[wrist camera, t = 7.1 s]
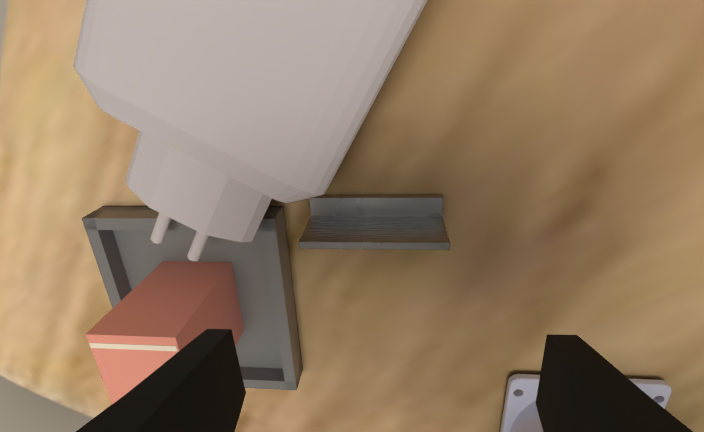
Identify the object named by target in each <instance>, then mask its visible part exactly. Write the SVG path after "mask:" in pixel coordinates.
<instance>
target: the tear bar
mask: <svg viewBox="0 0 704 432" xmlns="http://www.w3.org/2000/svg"><path fill="white" fill-rule="evenodd" d="M310 209H311V218H310V220H309V222H308V224H307V226H306V228H305V230H304V232H303V234H302V236H301V238H300V241H299V248H312V249H406V250H450V242H449V238H448V234H447V231H446V227H445V224H444V220H443V217H442V215H443V195H320V196H316V197H312V198H310Z"/></svg>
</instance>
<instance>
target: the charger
mask: <svg viewBox="0 0 704 432" xmlns="http://www.w3.org/2000/svg"><path fill="white" fill-rule="evenodd" d="M427 1H428V0H86V5H85V10H84V15H83V20H82V25H81V30H80V35H79V40H78V45H77V50H76V55H75V61H74V68H75V70H76V72H77V73H78V75H79V76H80V78H81V80H82V81H83V83H84V85H85V86H86V88H87V89H88V91H89V93H90V94H91V96H92V98H93V99H94V101H95V102H96V104H97V106H98V107H99V108H100V109H101V110H102V111H104V112H105V113H107V114H109V115H110V116H112V117H114V118H116V119H118V120H120V121H122V122H124V123H126V124H128V125H130V126H132V127H134V128H135V129H137V130H139V134H138V137H137V141H136V144H135V148H134V151H133V155H132V158H131V162H130V165H129V169H128V172H127V176H126V183H127V186H128V187H129V188H130V189H131V190H132V191H133V192H134V193H135V194H136V195H137V196H138V197H139V198H140V199H141V200H142V201H143V202H144V203H145V204H146V205H147V206H148V207H149V208H151V209H153V210H155V211H157V212H159V214H158V217H157V220H156V223H155V226H154V229H153V232H152V235H151V238H150V239H151V241H152V242H153V243H156V244H160V243H162V242H163V240H164V237H165V234H166V231H167V229H168V226H169V223H170V220H171V219H173V220H175V221H178V222H180V223H182V224H184V225H186V226H188V227H190V228H192V229H194V230H196V231H197V232H196V234H195V237H194V239H193V242H192V245H191V247H190V250H189V252H188V255H187V257H188V259H189V260H191V261H198V260H199V258H200V256H201V253H202V251H203V249H204V246H205V244H206V241H207V239H208V236H213V237H217V238H222V239H227V240H232V241H237V242H252V240H253V238H254V236H255V234H256V231H257V229H258V227H259V225H260V223H261V221H262V219H263V217H264V214H265V212H266V210H267V208H268V206H269V204H270V202H271V200H272V198H273V199H275V200H277V201H280V202H284V203H291V202H295V201H299V200H303V199H307V198H312V197H316V196H320V195H323V194H325V193H326V191H327V189H328V187H329V185H330V183H331V181H332V180H333V178H334V176H335V174H336V172H337V170H338V168H339V166H340V165H341V163H342V161H343V159H344V157H345V155H346V153H347V151H348V149H349V148H350V146H351V144H352V142H353V140H354V138H355V136H356V134H357V133H358V131H359V129H360V127H361V125H362V123H363V121H364V119H365V117H366V116H367V114H368V112H369V110H370V108H371V106H372V104H373V102H374V101H375V99H376V97H377V95H378V93H379V91H380V89H381V87H382V85H383V84H384V82H385V80H386V78H387V76H388V74H389V72H390V70H391V69H392V67H393V65H394V63H395V61H396V59H397V57H398V55H399V53H400V52H401V50H402V48H403V46H404V44H405V42H406V40H407V38H408V37H409V35H410V33H411V31H412V29H413V27H414V25H415V23H416V21H417V20H418V18H419V16H420V14H421V12H422V10H423V8H424V6H425V5H426V3H427Z"/></svg>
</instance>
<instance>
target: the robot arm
mask: <svg viewBox="0 0 704 432" xmlns="http://www.w3.org/2000/svg"><path fill="white" fill-rule="evenodd" d="M518 389H520V390H518ZM515 390H518V391H515ZM671 390H672V389H671V388H670V386H669V385H668V384H667V382H665V381H663V380H650V379H628V378H627V377H626V376H624V375H623V374H622V373H621V372H620V371H619V370H617V369H616V368H615V367H614V366H613V365H612V364H610V363H609V362H608V361H607V360H606V359H605V358H603V357H602V356H601V355H600V354H599V353H598V352H596V351H595V350H594V349H593V348H592V347H591V346H589V345H588V344H587V343H586V342H585V341H583V340H582V339H581V338H580V337H578V336H577V335H547V338H546V344H545V350H544V356H543V362H542V368H541V374H540V375H532V374H515V375H512V376H511V377H510V378H509V380H508V385H507V391H506V397H505V404H504V410H503V416H502V423H501V429H500V432H693V431H691V430H690V429H689V428H687V427H686V426H685V425H684V424H682V423H681V422H680V421H679V420H677V419H676V418H675V417H674V416H672V415H671V414H670V413H669V412H668V411H666V410H665V407H666V405H667V402H668V400H669V397H670V394H671ZM245 394H246V391H245V387H244V383H243V378H242V374H241V369H240V365H239V360H238V356H237V352H236V347H235V343H234V338H233V334H232V329H207V330H205V331H204V332H203V333H201V334H200V335H199V336H197V337H196V338H195V339H193V340H192V341H191V342H190V343H188V344H187V345H186V346H185V347H184V348H182V349H181V350H180V351H179V352H177V353H176V354H175V355H174V356H173V357H171V358H170V359H169V360H168V361H166V362H165V363H164V364H163V365H162V366H160V367H159V368H158V369H157V370H155V371H154V372H153V373H152V374H150V375H149V376H148V377H147V378H145V379H144V380H143V381H142V382H140V383H139V384H138V385H137V386H135V387H134V388H133V389H132V390H130V391H129V392H128V393H127V394H125V395H124V396H123V397H122V398H120V399H119V400H118V401H116V402H115V403H114V404H112V405H111V406H110V407H108V408H107V409H106V410H104V411H103V412H102V413H100V414H99V415H98V416H96V417H95V418H94V419H92V420H91V421H90V422H88V423H87V424H86V425H84V426H83V427H82V428H80V429H79V430H78V431H76V432H234V431H235V428H236V425H237V422H238V418H239V415H240V412H241V408H242V405H243V401H244V397H245Z"/></svg>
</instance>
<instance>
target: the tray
mask: <svg viewBox="0 0 704 432" xmlns="http://www.w3.org/2000/svg"><path fill="white" fill-rule="evenodd" d="M158 214H159V212H157V211H155V210H153V209H151V208H149V207H148V206H103V207H101V208H99V209H97V210H96V211H94V212H92V213H90V214H89V215H87V216H85V217H83V218H82V221H83V223H84V226H85V229H86V232H87V235H88V238H89V241H90V244H91V247H92V250H93V253H94V256H95V258H96V261H97V264H98V267H99V270H100V273H101V276H102V279H103V282H104V285H105V288H106V291H107V293H108V296H109V299H110V302H111V305H112V308H114V307H115V306H116V305H117V304H118V303H119V302H120V301H121V300H122V299H123V298H124V297H126V296H127V295H128V294H129V293H130V292H131V291H132V290H133V289H134V288H135V287H136V286H137V285H138V284H139V283H140V282H141V281H143V280H144V279H145V278H146V277H147V276H148V275H149V274H150V273H151V272H152V271H153V270H154V269H155V268H156V267H157V266H158V265H159V264H161V263H162V262H163V261H191V260H189V259H188V257H187V255H188V252H189V250H190V247H191V245H192V242H193V239H194V237H195V234H196V232H197V231H196V230H194V229H192V228H190V227H188V226H186V225H184V224H182V223H180V222H178V221H175V220H173V219H171V220H170V223H169V226H168V229H167V231H166V234H165V237H164V240H163V242H162V243H160V244H156V243H153V242H152V241H151V239H150V238H151V235H152V232H153V229H154V226H155V223H156V220H157V217H158ZM191 262H232V267H233V272H234V278H235V283H236V289H237V294H238V299H239V305H240V310H241V316H242V321H243V326H244V331H243V333H242V335H241V337H240V339H239V341H238V343H237V345H236V346H235V347H236V352H237V356H238V360H239V365H240V369H241V374H242V378H243V383H244V387H245V388H260V389H281V390H297V387H298V384H299V380H300V377H301V373H302V370H303V369H302V361H301V352H300V344H299V335H298V327H297V318H296V310H295V301H294V293H293V285H292V276H291V268H290V259H289V251H288V242H287V234H286V226H285V217H284V209H283V206H268V208H267V210H266V212H265V214H264V217H263V219H262V221H261V223H260V225H259V227H258V229H257V231H256V234H255V236H254V238H253V240H252V242H237V241H232V240H227V239H222V238H217V237H213V236H208V239H207V241H206V244H205V246H204V249H203V251H202V253H201V256H200V258H199V260H198V261H191Z"/></svg>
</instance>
